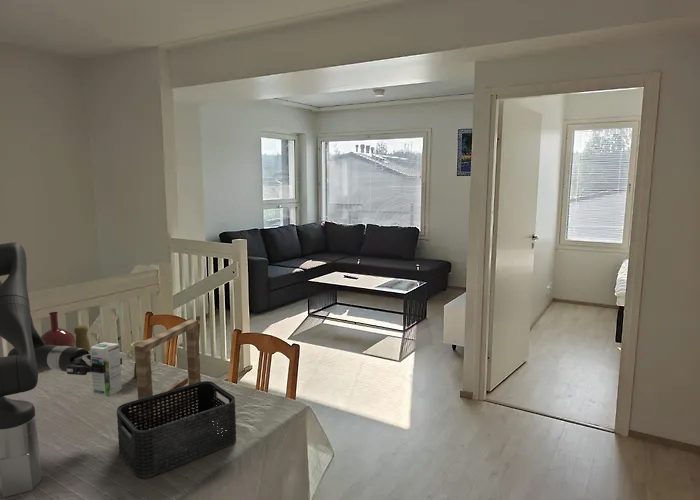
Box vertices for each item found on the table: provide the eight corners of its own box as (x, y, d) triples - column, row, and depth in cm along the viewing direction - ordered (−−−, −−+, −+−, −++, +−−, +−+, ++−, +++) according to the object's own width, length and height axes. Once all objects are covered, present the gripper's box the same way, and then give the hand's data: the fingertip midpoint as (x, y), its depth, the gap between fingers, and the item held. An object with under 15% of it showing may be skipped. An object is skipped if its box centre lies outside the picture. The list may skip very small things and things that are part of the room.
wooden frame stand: (158, 425, 150) (153, 348, 146) (129, 420, 153) (123, 344, 149) (210, 387, 176) (207, 321, 172) (184, 383, 179) (181, 318, 175)
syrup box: (92, 394, 143) (88, 347, 141) (107, 386, 148) (104, 341, 146) (108, 397, 141) (104, 349, 139) (123, 389, 147) (119, 342, 145)
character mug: (132, 383, 179) (129, 349, 177) (124, 377, 185) (122, 344, 182) (161, 374, 187) (159, 342, 185) (153, 369, 192) (151, 337, 190)
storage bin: (210, 417, 155) (208, 377, 153) (241, 442, 141) (239, 398, 139) (115, 451, 136) (112, 406, 134) (140, 483, 122) (136, 434, 120)
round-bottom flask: (74, 362, 199) (70, 315, 196) (37, 367, 193) (31, 319, 190) (77, 351, 211) (73, 307, 207) (41, 356, 205) (36, 310, 202)
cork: (83, 353, 209) (81, 328, 207) (71, 352, 210) (69, 327, 208) (93, 348, 214) (91, 324, 213) (82, 347, 216) (79, 323, 214)
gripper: (46, 355, 140) (92, 361, 135) (86, 339, 154) (130, 345, 149) (48, 380, 142) (94, 387, 137) (88, 362, 155) (131, 368, 150)
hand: (112, 365), depth 143 cm, fingers closed on syrup box, 6 cm apart
